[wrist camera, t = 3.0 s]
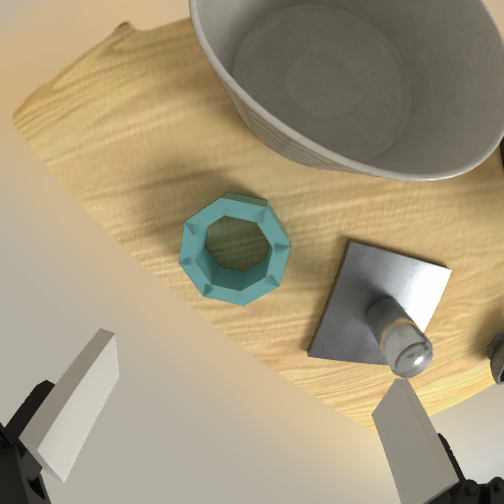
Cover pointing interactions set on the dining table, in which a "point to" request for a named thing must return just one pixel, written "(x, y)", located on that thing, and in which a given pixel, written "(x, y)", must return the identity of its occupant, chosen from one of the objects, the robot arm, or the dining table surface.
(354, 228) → the dining table surface
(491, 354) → the mortar and pestle
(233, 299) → the ring
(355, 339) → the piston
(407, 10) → the planter
